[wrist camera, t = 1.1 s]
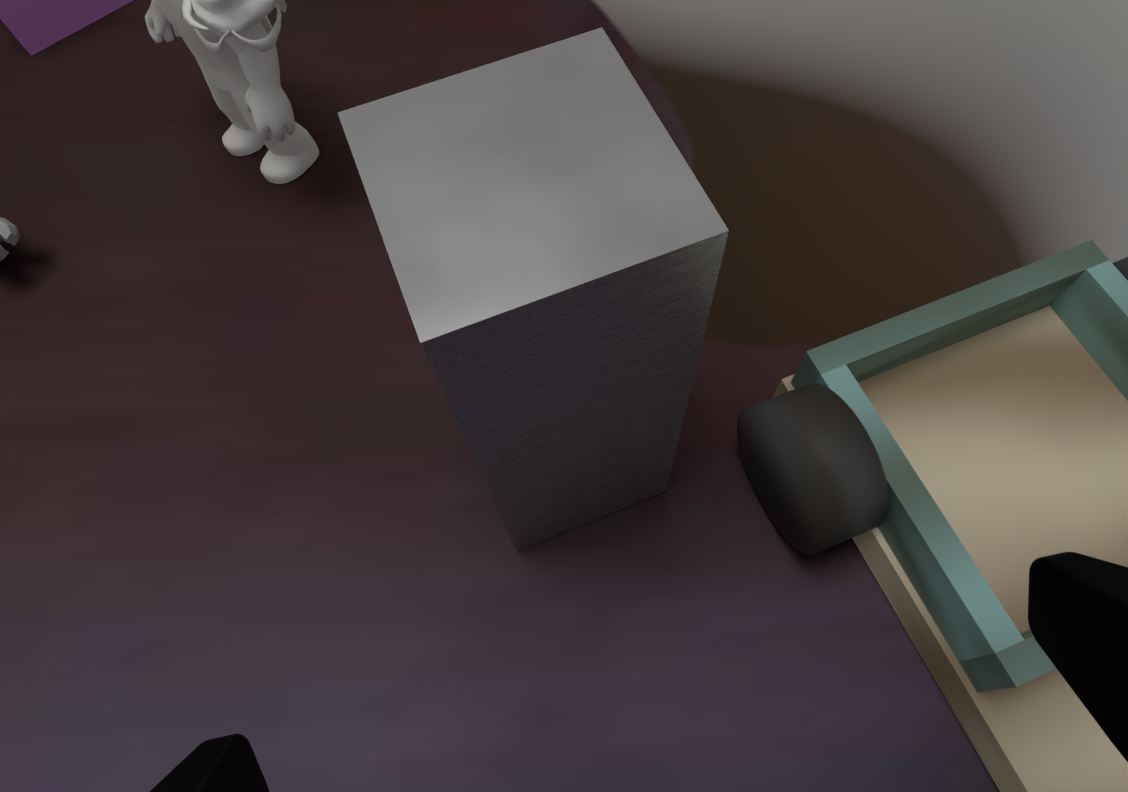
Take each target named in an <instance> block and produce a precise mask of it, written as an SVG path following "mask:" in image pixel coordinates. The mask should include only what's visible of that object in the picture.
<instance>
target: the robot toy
mask: <svg viewBox="0 0 1128 792" xmlns="http://www.w3.org/2000/svg"><path fill="white" fill-rule="evenodd" d="M19 237H20V234H19V232H18V229H17V227H16V226H15V225H13V224H12V223H10V222H9V221H7V220H6V219H5V218H1V217H0V242H1V241H4V242H7V243H10V244H13V245H14V246H15V244H16V243H17V242H18V240H19ZM8 253H9V252H8V251H6V250H5V249H4V248H3V247H2V246H1V245H0V261H2V260H3V259H4V258H5V257H6V256H7V255H8Z"/></svg>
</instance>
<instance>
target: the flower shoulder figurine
mask: <svg viewBox="0 0 1128 792" xmlns="http://www.w3.org/2000/svg"><path fill="white" fill-rule="evenodd" d="M274 7H276V8H277V21H276V22H275V24H274V26H273V28H272V26H271V24H270V21H269V19H268V18H267V15H268V14H269V13H270V12H271V11H272V10H273V9H274ZM286 7H287V5H286V3H285V1H284V0H152V2H151V6H150V8H149V9H148V11H147V13H146V15H145V19H146V24H147V28H148V31H149V33H150V35H151V37H152V38H153V39H154V41H155V42H156V43H160V42H162V41H163V39H162V36H163V37H164V39H165V41H166V42H170V41H173V40H174V38H173V34H172V30H171V26H170V23H171V24H172V27H173V31H174V33H175V36H176V37H182V38H183V40H184V41H185V43H186V45H187V46H188V48H189V49H190V50H191V52H192V53H193V55H194V56H195V58H196V60H197V62H198V64H199V66H200V68H201V70H202V72H203V75H204V77H205V80H206V82H207V84H208V86H209V88H210V90H211V93H212V96H213V98H214V100H215V102H216V104H217V105H218V107H219V109H220V110H221V111H222V112H223V113H224V114H225V115H226V116H227V117H228V118H229V120H230V121H231V122H232V125H231V126H230V128H229V129H228V130H227V131H226V132H225V133H224V135H223V136H222V140H223V144H224V146H225V147H226V149H227V150H228V152H230V153H231V154H232V155H234V156H245V155H250V154H252V153H254V152H256V151H258V150H260V149H261V148H262V147H263V146H264V144H265V146H266V147H267V148H268V149H269V150H268V152H267V153H266V155H265V156H264V158H263V160H262V162H261V166H260V169H261V173H262V174H263V175H264V177H265V178H266V179H267V180H268V181H269V182H271V183H274V184H284V183H288V182H290V181H293V180H295V179H296V178H298V177H299V176H301V175H302V174H303V173H304V172H305V171H306V170H307V169H308V168H309V167H310V166H311V165H312V164H313V163H314V162H315V161H316V159H317V157H318V156H319V149H318V147H317V145H316V143H315V141H314V140H313V138H312V137H311V135H310V134H309V133H308V131H307V130H306V129H304V128H303V127H302V126H301V125H299V124H298V123H296V122H295V121H294V115H293V111H292V107H291V103H290V101H289V99H288V98H287V96H286V94H285V93H284V91H283V89H282V88H281V86H280V70H279V60H278V55H277V48H276V46H275V43H276V41H277V38H278V35H279V31H280V28H281V12H280V10H281V11H283V12H286ZM279 9H280V10H279Z"/></svg>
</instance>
